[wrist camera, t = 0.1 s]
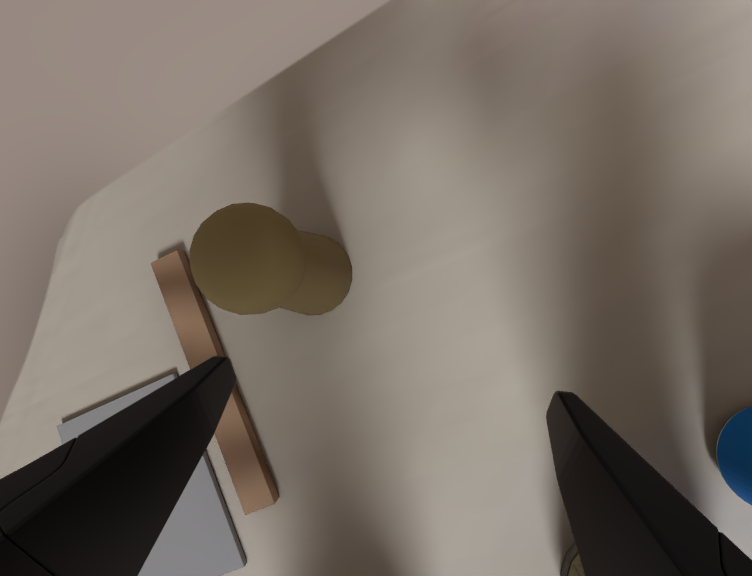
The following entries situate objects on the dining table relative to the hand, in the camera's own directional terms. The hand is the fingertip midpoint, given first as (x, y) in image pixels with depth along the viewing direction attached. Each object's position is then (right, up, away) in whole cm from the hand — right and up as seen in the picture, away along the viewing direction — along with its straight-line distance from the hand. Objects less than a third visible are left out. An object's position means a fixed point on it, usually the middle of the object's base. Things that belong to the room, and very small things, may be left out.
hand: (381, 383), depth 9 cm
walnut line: (-12, -4, +16) cm, 21 cm away
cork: (-5, +4, +16) cm, 17 cm away
